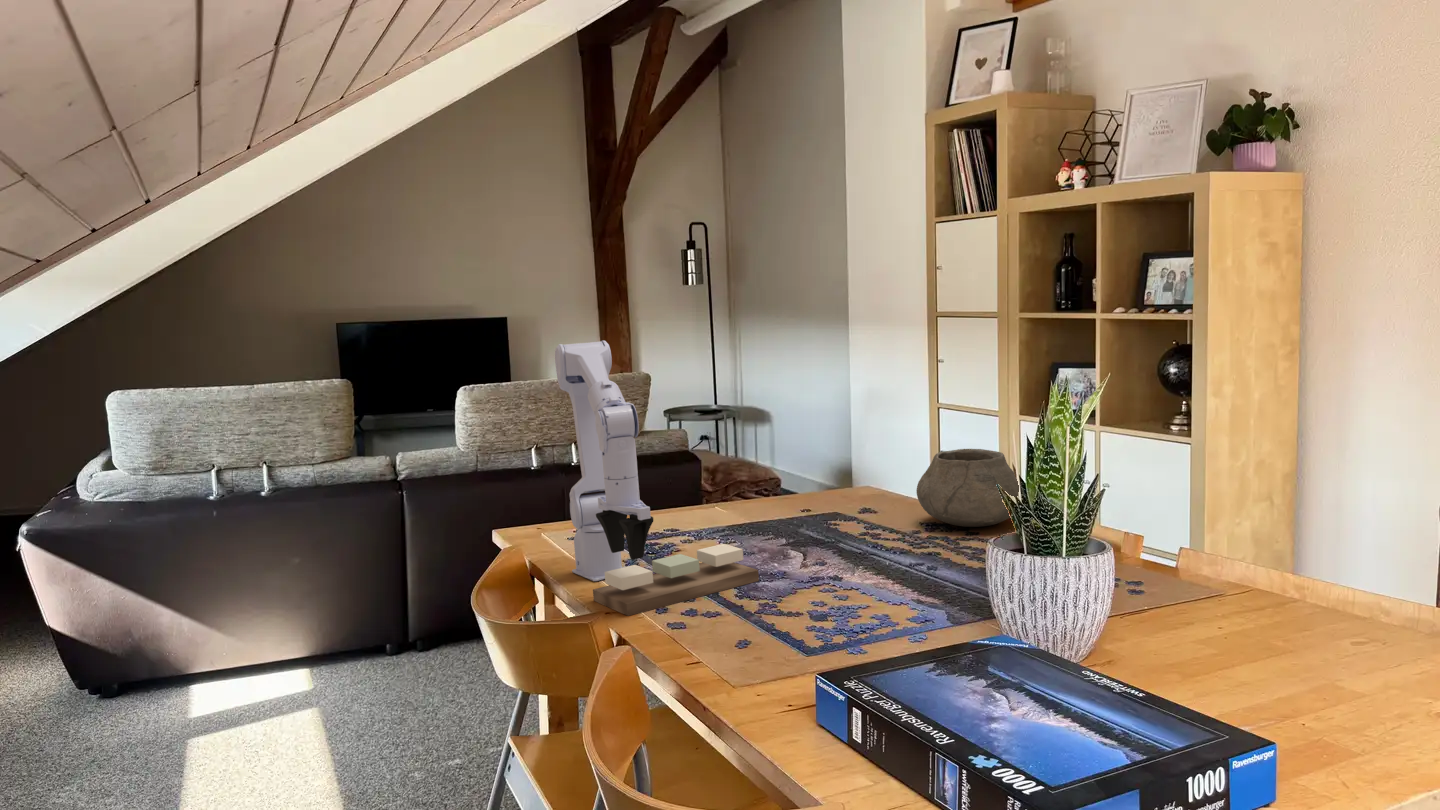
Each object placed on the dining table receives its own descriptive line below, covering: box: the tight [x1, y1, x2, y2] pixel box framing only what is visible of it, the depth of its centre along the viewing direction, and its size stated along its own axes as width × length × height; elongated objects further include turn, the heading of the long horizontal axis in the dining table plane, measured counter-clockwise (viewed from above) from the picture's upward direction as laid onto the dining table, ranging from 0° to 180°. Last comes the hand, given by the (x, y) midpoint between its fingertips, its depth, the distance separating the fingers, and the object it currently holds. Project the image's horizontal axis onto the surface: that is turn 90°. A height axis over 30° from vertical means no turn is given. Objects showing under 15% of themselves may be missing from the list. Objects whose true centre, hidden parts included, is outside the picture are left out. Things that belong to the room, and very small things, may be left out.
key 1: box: [604, 564, 654, 590], centre depth 178 cm, size 6×6×2 cm
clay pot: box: [916, 448, 1019, 528], centre depth 217 cm, size 22×21×15 cm
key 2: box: [696, 543, 744, 567], centre depth 189 cm, size 6×6×2 cm
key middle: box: [651, 553, 700, 578], centre depth 183 cm, size 6×6×2 cm
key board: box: [592, 562, 760, 617], centre depth 184 cm, size 12×27×2 cm, turn 125°
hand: (627, 554), depth 178 cm, fingers open, 6 cm apart
